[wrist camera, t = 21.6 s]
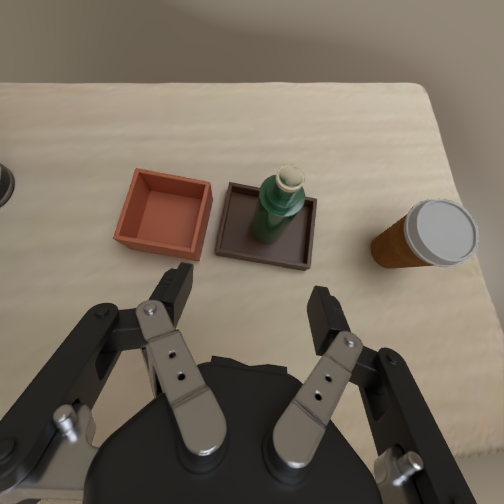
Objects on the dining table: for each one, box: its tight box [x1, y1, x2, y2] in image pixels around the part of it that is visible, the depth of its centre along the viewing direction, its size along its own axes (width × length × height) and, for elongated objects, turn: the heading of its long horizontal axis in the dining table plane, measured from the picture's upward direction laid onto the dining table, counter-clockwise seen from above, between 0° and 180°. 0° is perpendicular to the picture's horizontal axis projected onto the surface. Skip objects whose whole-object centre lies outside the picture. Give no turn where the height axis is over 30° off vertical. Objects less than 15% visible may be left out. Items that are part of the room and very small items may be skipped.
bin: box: [113, 168, 213, 261], centre depth 37 cm, size 11×11×6 cm
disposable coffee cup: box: [371, 199, 479, 268], centre depth 36 cm, size 10×10×12 cm
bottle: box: [251, 164, 305, 245], centre depth 32 cm, size 6×6×16 cm
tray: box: [215, 182, 317, 271], centre depth 39 cm, size 15×12×3 cm
